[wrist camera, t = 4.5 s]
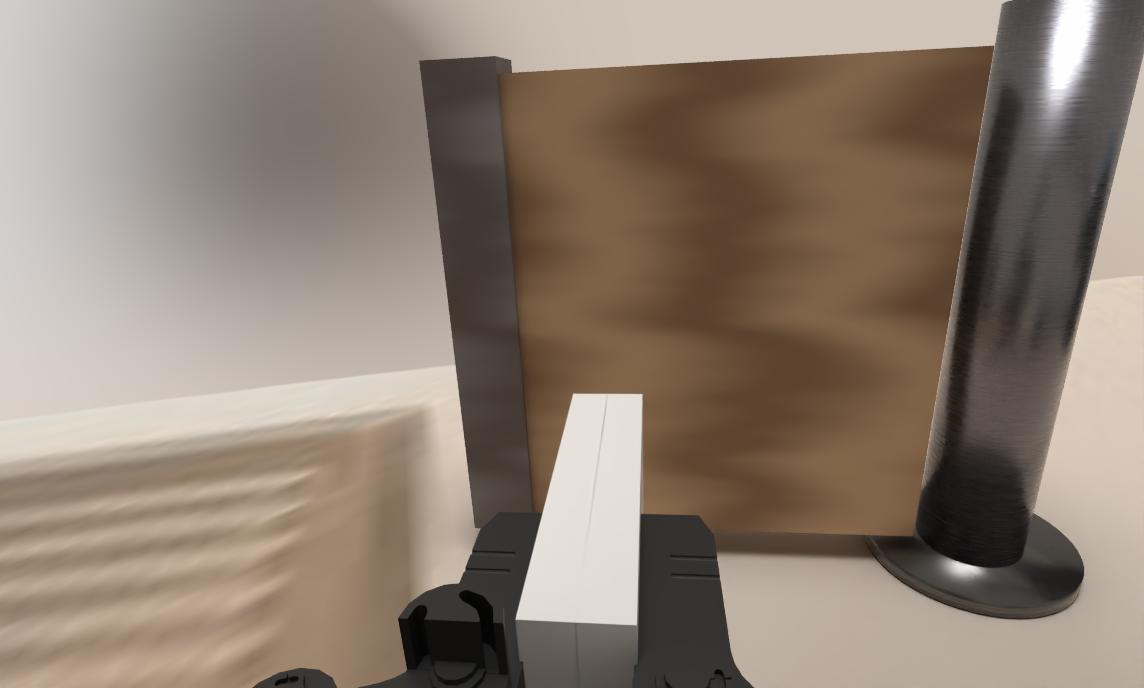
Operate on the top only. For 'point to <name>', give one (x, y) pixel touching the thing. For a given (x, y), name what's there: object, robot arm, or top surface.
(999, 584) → the gate post
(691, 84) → the gate
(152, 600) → the top surface
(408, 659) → the robot arm
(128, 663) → the top surface
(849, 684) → the top surface
